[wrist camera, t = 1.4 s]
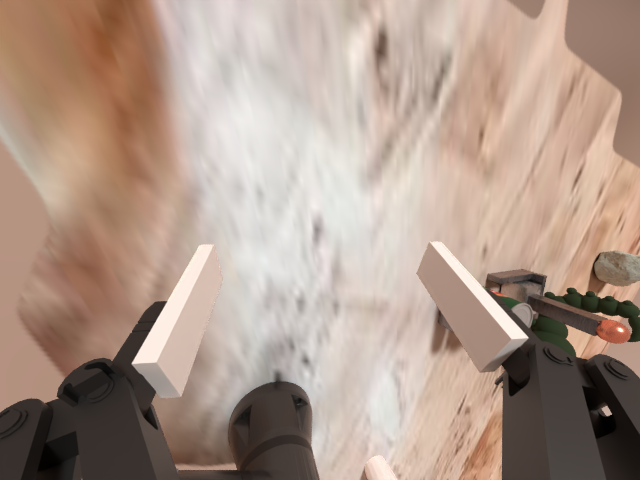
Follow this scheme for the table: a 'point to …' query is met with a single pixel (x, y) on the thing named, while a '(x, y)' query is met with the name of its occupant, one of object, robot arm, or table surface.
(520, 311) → the canned tomato
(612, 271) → the decorative stone
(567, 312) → the ball-tipped square rod
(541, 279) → the press frame
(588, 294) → the toy figurine
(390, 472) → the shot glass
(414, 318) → the table surface
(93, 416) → the robot arm
